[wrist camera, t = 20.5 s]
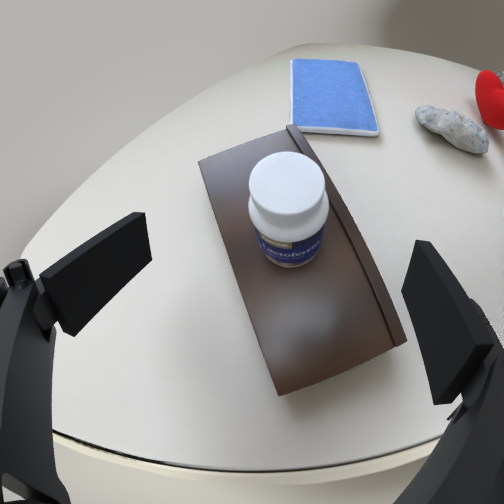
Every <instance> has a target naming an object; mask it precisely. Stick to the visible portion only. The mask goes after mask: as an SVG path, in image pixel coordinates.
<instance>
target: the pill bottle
mask: <svg viewBox="0 0 504 504" xmlns="http://www.w3.org/2000/svg"><path fill="white" fill-rule="evenodd" d="M249 190H250V197H249V203H248V208H249V214H250V218H251V221H252V224H253V226H254V229H255V232H256V235H257V238H258V241H259V244H260V247H261V249H262V251H263V253H264V254H265V255H266V257H267V258H268V259H269V260H270V261H272V262H273V263H275V264H277V265H279V266H282V267H289V268H291V267H298V266H301V265H304V264H306V263H308V262H309V261H310V260H312V259H313V258H314V257H315V255H316V254H317V252H318V250H319V248H320V245H321V242H322V238H323V233H324V229H325V225H326V221H327V217H328V212H329V201H328V196H327V193H326V191H325V179H324V175H323V173H322V171H321V169H320V167H319V166H318V165H317V164H316V163H315V162H314V161H313V160H312V159H310V158H309V157H307V156H305V155H302V154H300V153H296V152H278V153H274V154H271V155H269V156H267V157H265V158H264V159H262V160H261V161H259V162H258V163H257V165H256V166H255V167H254V168H253V170H252V172H251V175H250V179H249Z"/></svg>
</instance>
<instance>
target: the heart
mask: <svg viewBox="0 0 504 504" xmlns="http://www.w3.org/2000/svg"><path fill="white" fill-rule="evenodd" d="M475 94H476V101H477V105H478V108H479V111H480V114H481V117H482V120H483V122H484V123H486V124H487V125H489V126H491V127H493V128H495V129H499V130H504V86H503V84H502V82H501V80H500V79H499V78H498V76H497V75H496V74H494V73H493V72H491V71H487V70H484V71H482V72H480V73H479V75H478V77H477V80H476V87H475Z"/></svg>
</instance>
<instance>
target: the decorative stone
mask: <svg viewBox="0 0 504 504" xmlns="http://www.w3.org/2000/svg"><path fill="white" fill-rule="evenodd" d="M415 116H416V118H417V119H418V121H419V123H420V124H421V125H424V126H425V127H426V128H427V129H428V130H430V131H431V132H434V133H437V134H441V135H442V136H443V137H444V138H445V139H446V140H447V141H449V142H450V143H452V144H453V145H454V146H455V147H457V148H460V149H462V150H466V151H468V152H471V153H476V154H479V153H482V152H483V153H486V152H488V145H489V140H488V135H487V133H486V131H485V129H484V128H483V127H482V126H480V125H478V124H476V123H474V122H473V121H472V120H471V119H469V118H467V117H465V116H464V115H461V114H459V113H458V112H456V111H454V110H439V109H436V108H434V107H432V106H423V107H419V108H417V109H416V111H415Z"/></svg>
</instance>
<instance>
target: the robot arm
mask: <svg viewBox="0 0 504 504" xmlns="http://www.w3.org/2000/svg"><path fill="white" fill-rule="evenodd" d="M151 261H152V256H151V250H150V244H149V238H148V231H147V224H146V217H145V213H142V212H133V213H131V214H129V215H128V216H126V217H124V218H123V219H121V220H119V221H118V222H116V223H114V224H113V225H111V226H110V227H108V228H106V229H105V230H103V231H102V232H100V233H98V234H97V235H95V236H94V237H92V238H91V239H89V240H88V241H86V242H85V243H83V244H82V245H80V246H79V247H77V248H76V249H74V250H73V251H71V252H70V253H68V254H67V255H66V256H64V257H63V258H61V259H60V260H59V261H57V262H56V263H54V264H53V265H52V266H50V267H49V268H47V269H46V270H45V271H43V272H42V273H41V274H39V276H40V278H38V279H37V280H36V281H35V280H34V277H33V274H32V272H31V269H30V266H29V263H28V261H27V260H26V259H19V260H16V261H14V262H12V263H10V264H9V265H7V266H6V267H5V268H4V269H3V271H4V274H5V277H6V280H7V282H8V285H9V287H7V284H6V281H5V279H4V278H3V277H0V504H71V502H70V498H69V495H68V492H67V490H66V488H65V486H64V485H63V484H62V482H61V481H60V479H59V478H58V475H57V472H56V467H55V458H54V448H53V435H52V373H53V359H54V348H55V340H56V328H55V326H54V324H55V323H56V322H57V321H58V322H59V324H60V326H61V328H62V330H63V332H65V333H67V334H69V335H71V336H73V337H75V336H76V335H77V334H78V333H79V332H80V331H81V330H82V329H83V327H84V326H85V325H86V324H87V323H88V322H89V321H90V320H91V319H92V318H93V317H94V316H95V315H96V314H97V313H98V312H99V311H100V310H101V309H102V308H103V307H104V306H105V305H106V304H107V303H108V302H109V301H110V300H111V299H112V298H113V297H114V296H115V295H116V294H117V293H118V292H119V291H120V290H121V289H122V288H123V287H124V286H125V285H126V284H127V283H128V282H129V281H130V280H131V279H132V278H134V277H135V276H136V275H137V274H138V273H139V272H140V271H141V270H142V269H143V268H144V267H145V266H146V265H147V264H148V263H149V262H151ZM401 292H402V295H403V298H404V301H405V303H406V306H407V309H408V312H409V315H410V318H411V321H412V324H413V327H414V330H415V333H416V337H417V340H418V343H419V347H420V350H421V354H422V357H423V361H424V365H425V369H426V373H427V377H428V381H429V385H430V390H431V394H432V399H433V404H434V405H440V404H450V403H452V402H453V401H454V400H455V399H456V397H457V396H458V395H459V394H460V393H461V395H462V398H463V401H462V403H461V404H460V405H459V406H458V407H457V408H456V409H455V410H454V412H453V413H452V414H451V415H450V416H449V417H448V418H447V420H448V421H449V420H450V419H451V418H452V419H451V421H450V423H449V425H448V426H447V428H446V430H445V432H444V433H443V435H442V437H441V439H440V440H439V442H438V443H437V445H436V447H435V448H434V450H433V451H432V453H431V454H430V456H429V458H428V459H427V460H426V462H425V463H424V465H423V466H422V468H421V469H420V471H419V472H418V473H417V474H416V476H415V477H414V478H413V480H412V481H411V482H410V484H409V485H408V486H407V487H406V489H405V490H404V491H403V493H402V494H401V495H400V496H399V497H398V498H397V500H396V501H395V502H394V503H393V504H504V349H503V347H502V345H501V343H500V341H499V339H498V337H497V335H496V333H495V331H494V330H493V328H492V326H491V325H490V322H489V321H488V319H487V318H486V316H485V314H484V312H483V311H482V309H481V307H480V306H479V305H478V304H477V303H476V302H475V301H474V300H473V299H469V297H468V296H467V294H466V292H465V291H464V289H463V288H462V286H461V285H460V283H459V282H458V280H457V279H456V277H455V276H454V274H453V273H452V271H451V270H450V268H449V267H448V266H447V264H446V263H445V261H444V260H443V259H442V257H441V256H440V254H439V253H438V252H437V250H436V249H435V248H434V246H433V245H432V244H431V242H428V241H422V240H416V241H415V245H414V249H413V253H412V257H411V260H410V264H409V267H408V271H407V274H406V277H405V280H404V284H403V287H402V290H401ZM2 486H4V487H5V488H7V489H9V490H10V491H12V492H14V493H16V494H18V495H19V496H21V497H23V498H24V499H25V500H17V501H10V502H4V499H3V491H2Z"/></svg>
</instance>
